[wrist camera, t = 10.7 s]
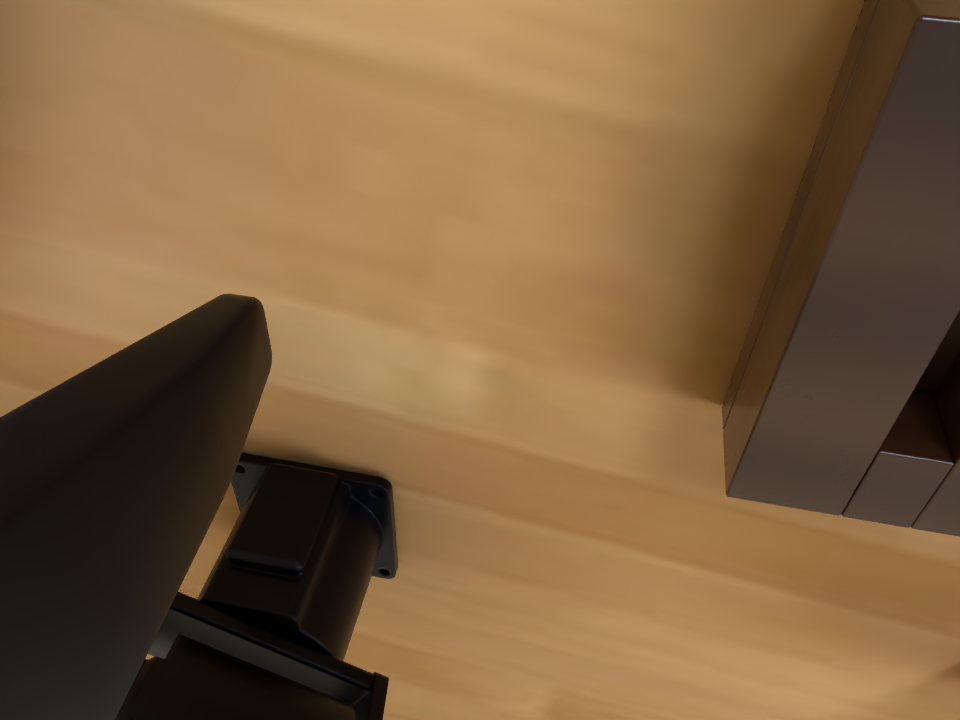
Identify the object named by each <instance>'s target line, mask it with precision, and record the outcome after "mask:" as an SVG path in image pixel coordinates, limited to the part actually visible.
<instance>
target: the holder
mask: <svg viewBox="0 0 960 720" xmlns="http://www.w3.org/2000/svg"><path fill="white" fill-rule="evenodd" d="M722 417H723V430H724V431H723V436H724V460H725V484H726V495H727V496H728V497H733V498H739V499H744V500H750V501H756V502H762V503H768V504H774V505H780V506H786V507H792V508H797V509H803V510H809V511H815V512H821V513H827V514H833V515H841V514H842V516H843V517H848V518H854V519H860V520H866V521H872V522H878V523H884V524H889V525H895V526H901V527H907V528H909V527H911V528H913V529H918V530H924V531H930V532H936V533H942V534H948V535H954V536H959V537H960V0H865V3H864V6H863V8H862V11H861V14H860V17H859V20H858V23H857V25H856V28H855V31H854V34H853V37H852V40H851V43H850V45H849V48H848V51H847V54H846V57H845V60H844V62H843V65H842V68H841V71H840V74H839V77H838V79H837V82H836V85H835V88H834V91H833V94H832V97H831V99H830V102H829V105H828V108H827V111H826V114H825V116H824V119H823V122H822V125H821V128H820V131H819V133H818V136H817V139H816V142H815V145H814V148H813V151H812V153H811V156H810V159H809V162H808V165H807V168H806V170H805V173H804V176H803V179H802V182H801V185H800V187H799V190H798V193H797V196H796V199H795V202H794V204H793V207H792V210H791V213H790V216H789V219H788V222H787V224H786V227H785V230H784V233H783V236H782V239H781V241H780V244H779V247H778V250H777V253H776V256H775V258H774V261H773V264H772V267H771V270H770V273H769V276H768V278H767V281H766V284H765V287H764V290H763V293H762V295H761V298H760V301H759V304H758V307H757V310H756V312H755V315H754V318H753V321H752V324H751V327H750V330H749V332H748V335H747V338H746V341H745V344H744V347H743V349H742V352H741V355H740V358H739V361H738V364H737V366H736V369H735V372H734V375H733V378H732V381H731V384H730V386H729V389H728V392H727V395H726V398H725V401H724V403H723V406H722Z"/></svg>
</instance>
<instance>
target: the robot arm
mask: <svg viewBox="0 0 960 720" xmlns="http://www.w3.org/2000/svg"><path fill="white" fill-rule="evenodd" d="M271 362H272V351H271V345H270V339H269V334H268V329H267V323H266V318H265V312H264V308H263V305H262V303H261V302H260V301H259V300H258V299H256V298H254V297H249V296H242V295H235V294H223V295H220V296H218V297H216V298H215V299H213V300H211V301H209V302H207V303H206V304H204V305H202V306H200V307H198V308H196V309H195V310H193V311H191V312H189V313H187V314H186V315H184V316H182V317H180V318H178V319H177V320H175V321H173V322H171V323H169V324H168V325H166V326H164V327H162V328H160V329H159V330H157V331H155V332H153V333H151V334H150V335H148V336H146V337H144V338H142V339H141V340H139V341H137V342H135V343H133V344H132V345H130V346H128V347H126V348H124V349H123V350H121V351H119V352H117V353H115V354H114V355H112V356H110V357H108V358H106V359H105V360H103V361H101V362H99V363H97V364H96V365H94V366H92V367H90V368H88V369H87V370H85V371H83V372H81V373H79V374H78V375H76V376H74V377H72V378H70V379H69V380H67V381H65V382H63V383H61V384H60V385H58V386H56V387H54V388H52V389H51V390H49V391H47V392H45V393H43V394H42V395H40V396H38V397H36V398H34V399H33V400H31V401H29V402H27V403H25V404H24V405H22V406H20V407H18V408H16V409H14V410H13V411H11V412H9V413H7V414H5V415H4V416H2V417H0V720H382V719H383V713H384V707H385V700H386V694H387V688H388V681H389V678H388V677H386V676H384V675H381V674H379V673H376V672H374V673H373V674H372V673H370V672H367V671H365V670H363V669H360V668H358V667H355V666H353V665H351V664H348V663H346V662H344V661H343V660H344V657H345V654H346V651H347V648H348V645H349V642H350V639H351V636H352V633H353V630H354V627H355V624H356V621H357V618H358V615H359V612H360V609H361V606H362V603H363V600H364V597H365V594H366V591H367V588H368V585H369V582H370V579H371V576H375V577H380V578H387V579H390V578H393V577H395V575H396V571H397V568H398V558H397V545H396V532H395V518H394V505H393V491H392V485H391V483H390V482H389V481H387V480H386V479H384V478H381V477H377V476H371V475H365V474H360V473H354V472H348V471H343V470H337V469H331V468H326V467H320V466H314V465H309V464H303V463H297V462H292V461H286V460H280V459H275V458H269V457H263V456H257V455H252V454H246V453H242V450H243V447H244V444H245V441H246V438H247V435H248V433H249V430H250V427H251V424H252V421H253V418H254V415H255V412H256V410H257V407H258V404H259V401H260V398H261V395H262V392H263V389H264V387H265V384H266V381H267V378H268V375H269V372H270V368H271ZM230 482H232V485H233V489H234V492H235V495H236V499H237V502H238V505H239V509H240V512H241V513H240V515H239V517H238V519H237V521H236V523H235V525H234V527H233V529H232V531H231V533H230V535H229V537H228V539H227V541H226V543H225V545H224V547H223V549H222V551H221V553H220V555H219V557H218V559H217V561H216V563H215V565H214V567H213V569H212V571H211V573H210V575H209V577H208V579H207V581H206V583H205V585H204V587H203V589H202V591H201V593H200V595H199V597H198V599H194V598H192V597H189V596H187V595H185V594H182V593H180V592H178V590H179V588H180V586H181V584H182V582H183V580H184V578H185V576H186V574H187V572H188V569H189V567H190V565H191V563H192V561H193V559H194V557H195V555H196V553H197V551H198V549H199V547H200V545H201V543H202V541H203V539H204V537H205V535H206V533H207V531H208V528H209V526H210V524H211V522H212V520H213V518H214V516H215V514H216V512H217V510H218V508H219V506H220V504H221V502H222V500H223V498H224V495H225V493H226V491H227V489H228V487H229V484H230ZM147 654H149V655H152V656H154V657H153V658H151V659H149V660H146V659H145V658H146V655H147Z"/></svg>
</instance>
